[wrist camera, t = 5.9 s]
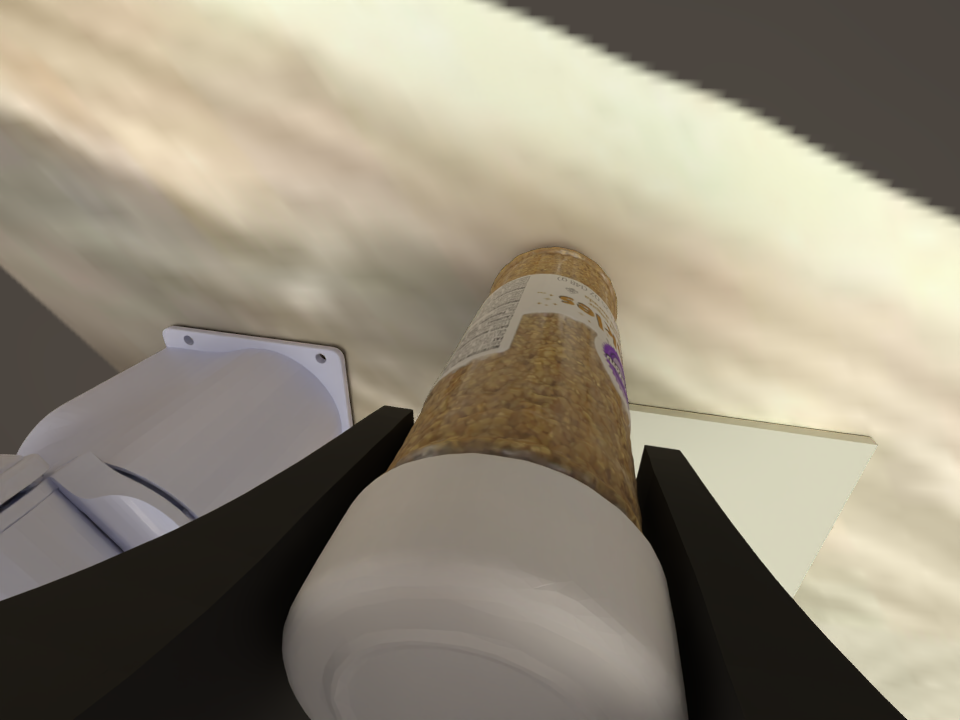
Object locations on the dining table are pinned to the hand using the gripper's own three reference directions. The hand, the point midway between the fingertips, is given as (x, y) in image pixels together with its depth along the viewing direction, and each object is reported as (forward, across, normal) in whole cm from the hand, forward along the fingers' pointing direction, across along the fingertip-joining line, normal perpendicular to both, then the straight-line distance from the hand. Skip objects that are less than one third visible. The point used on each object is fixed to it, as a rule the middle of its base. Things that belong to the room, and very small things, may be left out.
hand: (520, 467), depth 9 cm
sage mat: (+10, -7, +11) cm, 16 cm away
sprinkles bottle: (+9, 0, 0) cm, 9 cm away
